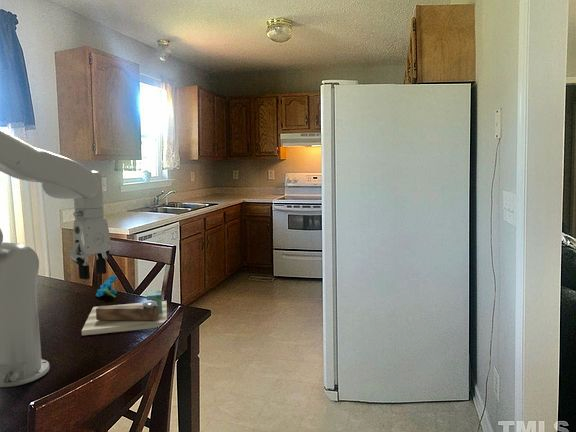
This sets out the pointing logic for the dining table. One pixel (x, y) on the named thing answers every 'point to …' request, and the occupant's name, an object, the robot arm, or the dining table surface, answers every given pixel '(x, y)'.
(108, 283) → the gear
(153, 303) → the disc
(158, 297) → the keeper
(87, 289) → the dining table surface
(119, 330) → the board
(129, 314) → the link
